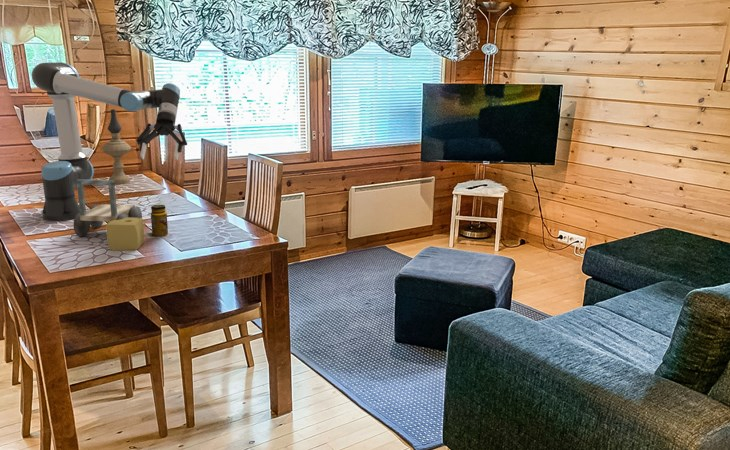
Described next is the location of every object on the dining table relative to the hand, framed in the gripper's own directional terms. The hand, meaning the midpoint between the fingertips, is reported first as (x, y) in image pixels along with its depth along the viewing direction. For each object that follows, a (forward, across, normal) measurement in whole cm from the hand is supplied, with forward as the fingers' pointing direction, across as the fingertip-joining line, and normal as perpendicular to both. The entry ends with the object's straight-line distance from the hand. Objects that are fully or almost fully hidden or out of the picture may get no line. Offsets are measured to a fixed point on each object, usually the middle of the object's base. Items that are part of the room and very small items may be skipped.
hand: (159, 158), depth 233 cm
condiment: (+30, +1, +10) cm, 32 cm away
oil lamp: (-37, -49, +81) cm, 102 cm away
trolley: (+28, -19, +12) cm, 35 cm away
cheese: (+40, -6, 0) cm, 40 cm away
